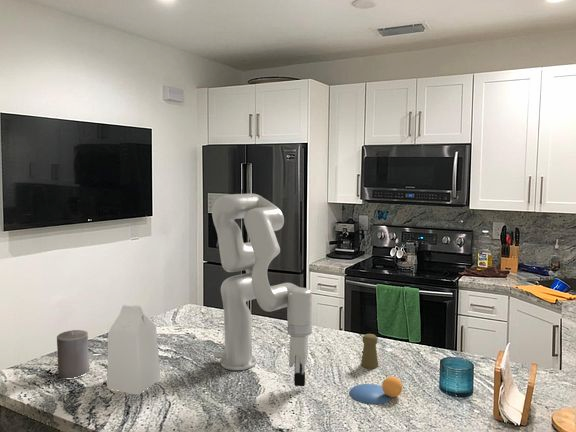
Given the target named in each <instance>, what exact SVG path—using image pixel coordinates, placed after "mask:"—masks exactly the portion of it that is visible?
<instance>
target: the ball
mask: <svg viewBox="0 0 576 432" xmlns="http://www.w3.org/2000/svg"><path fill="white" fill-rule="evenodd" d="M381 384H382V385H381V386H382V389H383V392H384V393H385V394H386V395H387V396H389V397H392V398H397V397H398V396H400V395H401V394H402V392H403V384H402V382H401V380H400V379H399V378H398V377H395V376H393V375H391V376H387V377H385V379H384V380H383V382H382V383H381Z"/></svg>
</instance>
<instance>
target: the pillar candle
mask: <svg viewBox="0 0 576 432" xmlns="http://www.w3.org/2000/svg"><path fill="white" fill-rule="evenodd" d="M88 333H89V332H88V331H86V330H83V329H82V330H81V329H72V330H67V331H63V332H60V333H59V334H58V335H57V336H56V345H57V346H56V347H57V352H56V353H57V374H58V375H59V376H58V375H57V376H58V378H59V377H61V378H74V377H78V376H81V375H83V374H85V373H87V372H88V371H89V372H90V358H89V357H90V356H89V354H90V353H89V352H90V351H89V334H88ZM89 372H88V373H89ZM88 373H87V374H88ZM61 378H60V379H61Z"/></svg>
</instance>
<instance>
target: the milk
mask: <svg viewBox="0 0 576 432" xmlns="http://www.w3.org/2000/svg"><path fill="white" fill-rule="evenodd" d="M160 367H161V366H160V357H159V345H158V334H157V326H156V324H155V323H154V322H153V321H152V320H151V319H149V317H148V316H146V315H145V314H144V311H143V308H142V306H141V305H135V304H134V305H133V304H126V303H125V304H123V305H122V306H121V309H120V312H119V314H118V316H117V317H116V318H115V320H114V322H113V323H112V324H111V326H110V328H109V331H108V333H107V369H106V370H107V372H106V375H107V379H106V380H107V381H106V389H107V388H108V389H113V390H119V391H123V392H128V393H127V394H129V393H133V394H132V395H134V394H141V393H142V392H143V391H145V390H146V389H147V388H149V387H150V386H152V385H153V384H154V383H156V382H157V381H159V380H160V379H161V380H162V377H161V368H160ZM161 380H160V381H161ZM160 381H159V382H160ZM157 383H158V382H157ZM157 383H156V384H157ZM153 386H154V385H153ZM153 386H152V387H153ZM150 388H151V387H150ZM150 388H149V389H150ZM146 391H147V390H146ZM146 391H145V392H146ZM123 392H122V393H123ZM143 393H144V392H143ZM143 393H142V394H143ZM142 394H141V395H142Z"/></svg>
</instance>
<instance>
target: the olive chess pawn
mask: <svg viewBox="0 0 576 432" xmlns="http://www.w3.org/2000/svg"><path fill="white" fill-rule="evenodd" d="M362 344H363V349H362V355H361V362H360V367H362V368H364V369H368V370H370V369H371V370H373V369H377V368H378V367H379V360H378V352H377V344H378V337H377V335H375V334H372V333H365V334H364V335H363V336H362Z"/></svg>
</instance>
